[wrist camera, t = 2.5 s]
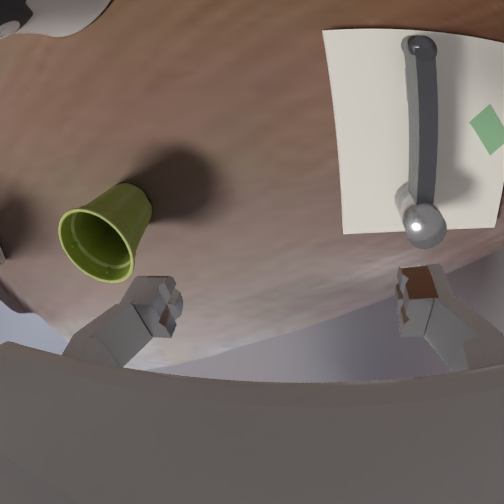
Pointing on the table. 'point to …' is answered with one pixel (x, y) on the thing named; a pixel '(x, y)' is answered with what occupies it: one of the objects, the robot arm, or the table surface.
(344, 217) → the dial board
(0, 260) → the juice carton
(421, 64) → the grey lever handle
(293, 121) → the table surface
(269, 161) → the table surface
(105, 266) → the plant pot
